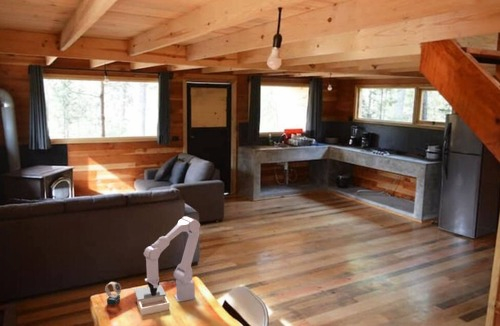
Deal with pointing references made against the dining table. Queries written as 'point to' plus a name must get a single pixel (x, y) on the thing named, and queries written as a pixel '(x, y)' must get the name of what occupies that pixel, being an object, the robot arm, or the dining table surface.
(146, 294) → the lid
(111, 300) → the watch
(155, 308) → the box
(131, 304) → the dining table surface
